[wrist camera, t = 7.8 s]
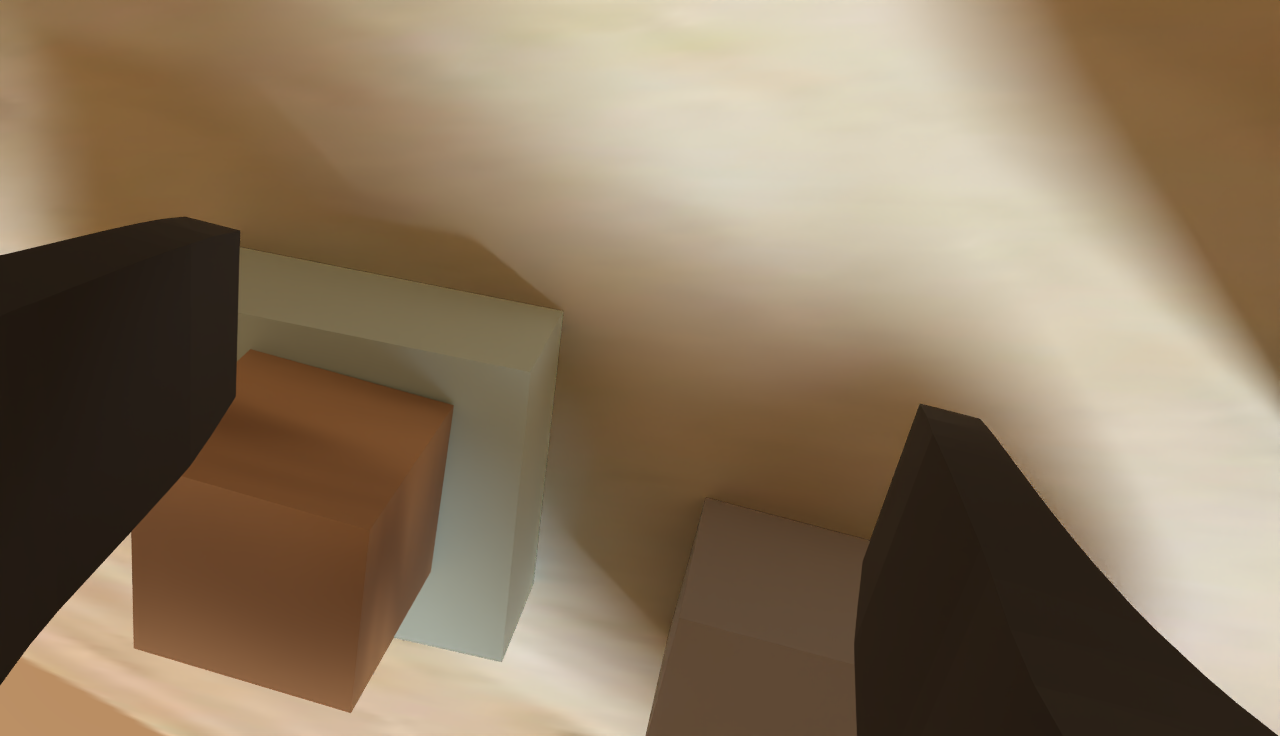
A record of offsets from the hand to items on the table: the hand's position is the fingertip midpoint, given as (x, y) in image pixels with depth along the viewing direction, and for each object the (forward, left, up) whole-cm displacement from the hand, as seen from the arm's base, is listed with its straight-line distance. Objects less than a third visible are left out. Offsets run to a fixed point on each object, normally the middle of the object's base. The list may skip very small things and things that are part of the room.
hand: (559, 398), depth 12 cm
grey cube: (-10, -4, -10) cm, 15 cm away
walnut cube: (-8, +5, -8) cm, 12 cm away
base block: (-8, +5, -11) cm, 14 cm away
